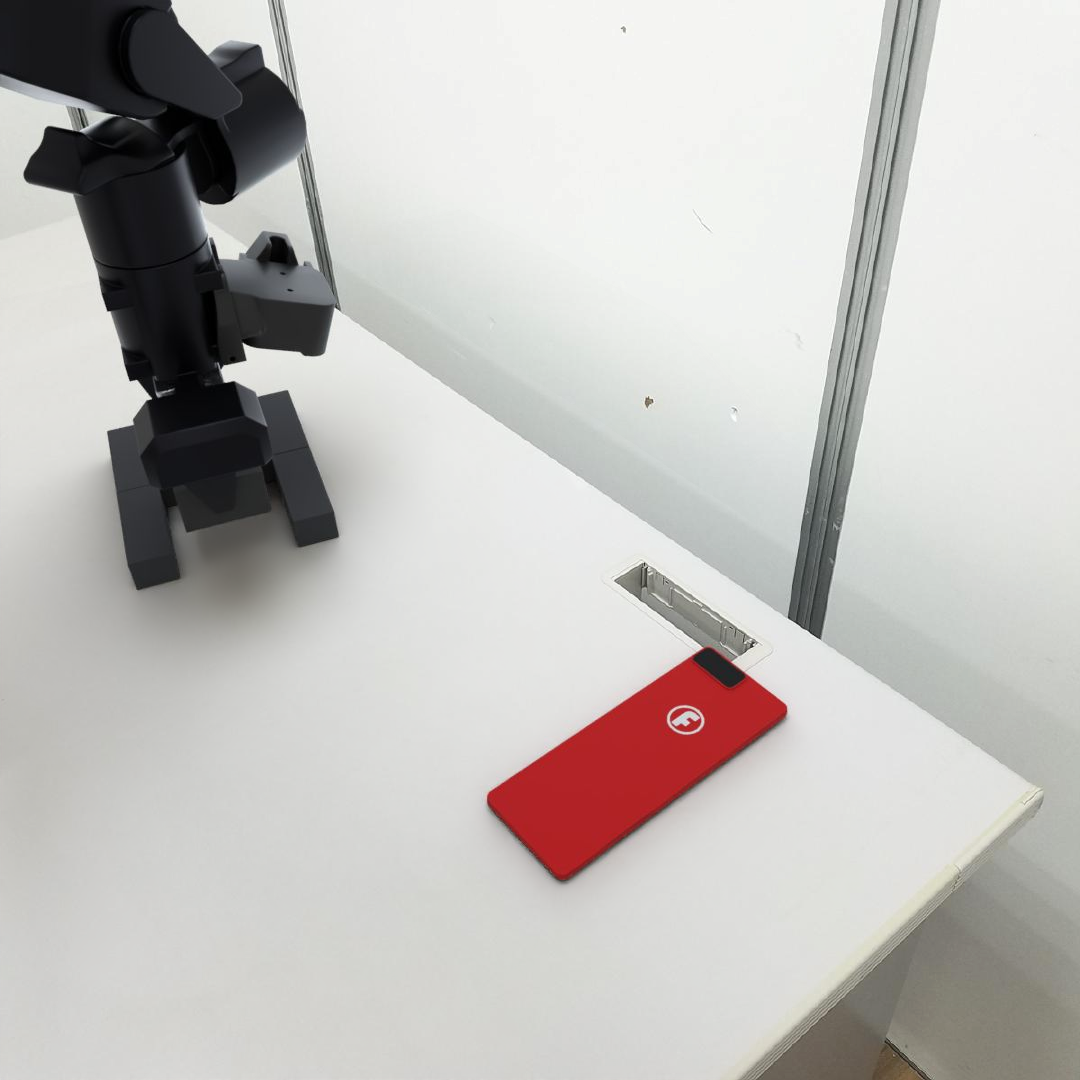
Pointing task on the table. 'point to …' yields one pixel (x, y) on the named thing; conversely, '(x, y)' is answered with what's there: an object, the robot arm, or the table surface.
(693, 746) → the electronic device
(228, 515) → the black block
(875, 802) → the table surface
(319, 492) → the dark gray pronged block
